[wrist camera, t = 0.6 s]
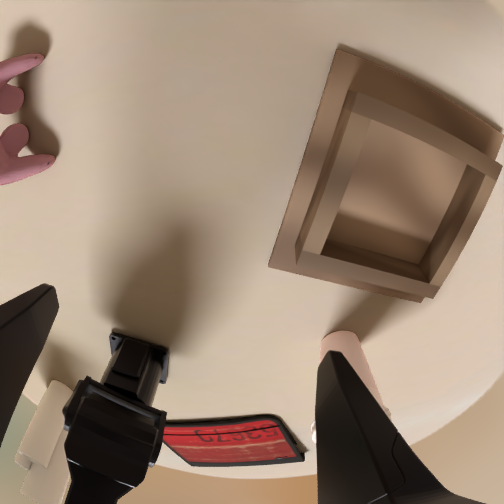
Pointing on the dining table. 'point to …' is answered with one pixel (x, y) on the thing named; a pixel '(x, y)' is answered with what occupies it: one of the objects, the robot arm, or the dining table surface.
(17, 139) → the video game controller
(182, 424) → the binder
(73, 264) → the dining table surface
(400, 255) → the brown shallow square tray
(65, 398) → the vase
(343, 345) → the smoothie
